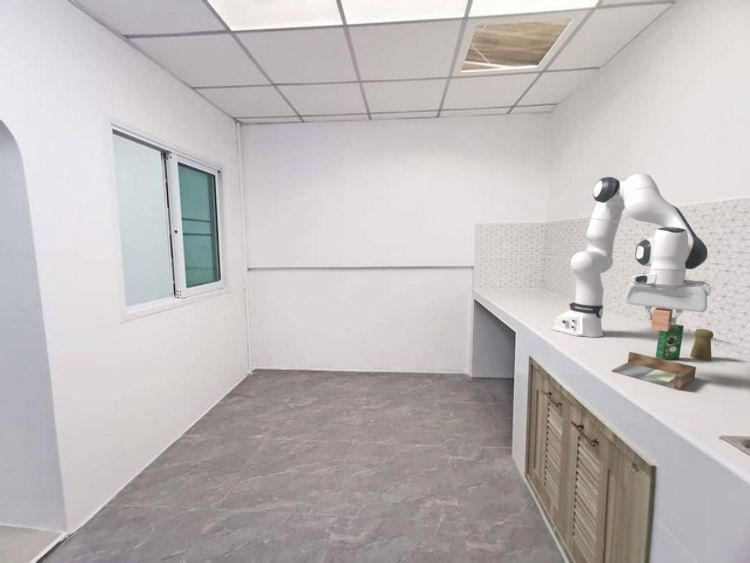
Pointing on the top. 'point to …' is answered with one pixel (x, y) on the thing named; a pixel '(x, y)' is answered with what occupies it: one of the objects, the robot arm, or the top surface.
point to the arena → (657, 371)
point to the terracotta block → (661, 319)
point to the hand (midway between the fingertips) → (661, 321)
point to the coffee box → (670, 342)
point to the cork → (702, 345)
